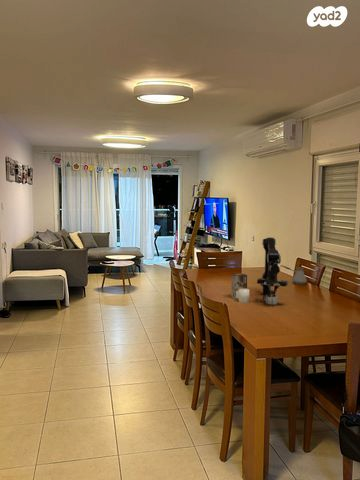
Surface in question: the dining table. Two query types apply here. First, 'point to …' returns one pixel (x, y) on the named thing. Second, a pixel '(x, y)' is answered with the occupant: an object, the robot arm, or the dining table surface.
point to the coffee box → (238, 283)
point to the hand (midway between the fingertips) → (271, 295)
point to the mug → (243, 295)
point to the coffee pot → (298, 276)
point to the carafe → (271, 300)
